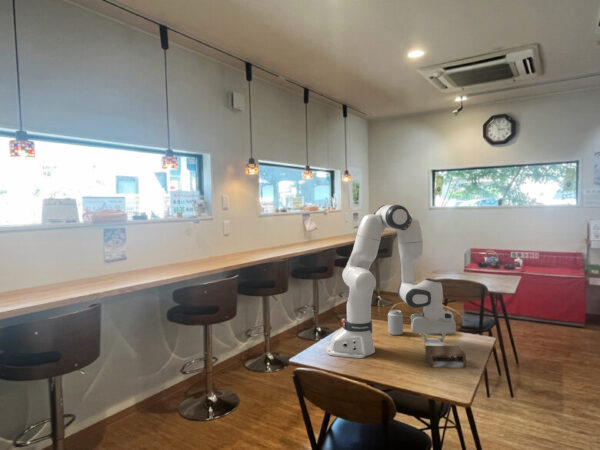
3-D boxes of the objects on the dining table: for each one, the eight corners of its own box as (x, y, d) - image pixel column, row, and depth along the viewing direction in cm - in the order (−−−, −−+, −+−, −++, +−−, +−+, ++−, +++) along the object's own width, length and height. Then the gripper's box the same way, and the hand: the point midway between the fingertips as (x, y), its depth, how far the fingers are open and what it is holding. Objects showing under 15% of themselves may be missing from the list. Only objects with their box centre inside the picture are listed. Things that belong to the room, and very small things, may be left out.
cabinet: (430, 367, 156) (430, 354, 156) (425, 358, 166) (425, 345, 166) (466, 367, 155) (466, 354, 155) (458, 358, 164) (458, 346, 164)
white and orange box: (434, 357, 166) (434, 350, 166) (425, 344, 182) (425, 338, 182) (448, 358, 165) (448, 351, 165) (438, 344, 181) (438, 338, 181)
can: (403, 336, 194) (403, 313, 193) (388, 335, 196) (388, 312, 195) (402, 331, 201) (402, 309, 201) (387, 331, 203) (387, 308, 202)
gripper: (411, 314, 177) (412, 344, 178) (457, 315, 175) (457, 344, 176) (409, 311, 183) (409, 339, 184) (453, 311, 181) (453, 339, 182)
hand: (433, 342), depth 180 cm, fingers closed on white and orange box, 6 cm apart
